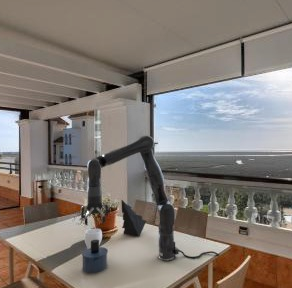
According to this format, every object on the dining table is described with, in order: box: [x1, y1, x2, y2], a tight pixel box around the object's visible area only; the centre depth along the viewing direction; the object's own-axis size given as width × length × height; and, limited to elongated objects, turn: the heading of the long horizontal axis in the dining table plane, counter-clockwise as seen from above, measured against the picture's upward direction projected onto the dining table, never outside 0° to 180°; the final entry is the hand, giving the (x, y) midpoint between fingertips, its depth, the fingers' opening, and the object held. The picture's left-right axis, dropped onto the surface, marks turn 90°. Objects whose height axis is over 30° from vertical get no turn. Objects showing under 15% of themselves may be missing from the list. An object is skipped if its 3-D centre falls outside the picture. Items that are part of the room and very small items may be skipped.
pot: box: [82, 253, 108, 274], centre depth 135 cm, size 13×18×8 cm
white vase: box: [83, 228, 103, 250], centre depth 151 cm, size 11×11×15 cm
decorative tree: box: [120, 199, 147, 238], centre depth 184 cm, size 15×15×35 cm
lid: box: [81, 240, 109, 258], centre depth 135 cm, size 14×14×7 cm
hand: (94, 224), depth 135 cm, fingers open, 8 cm apart
